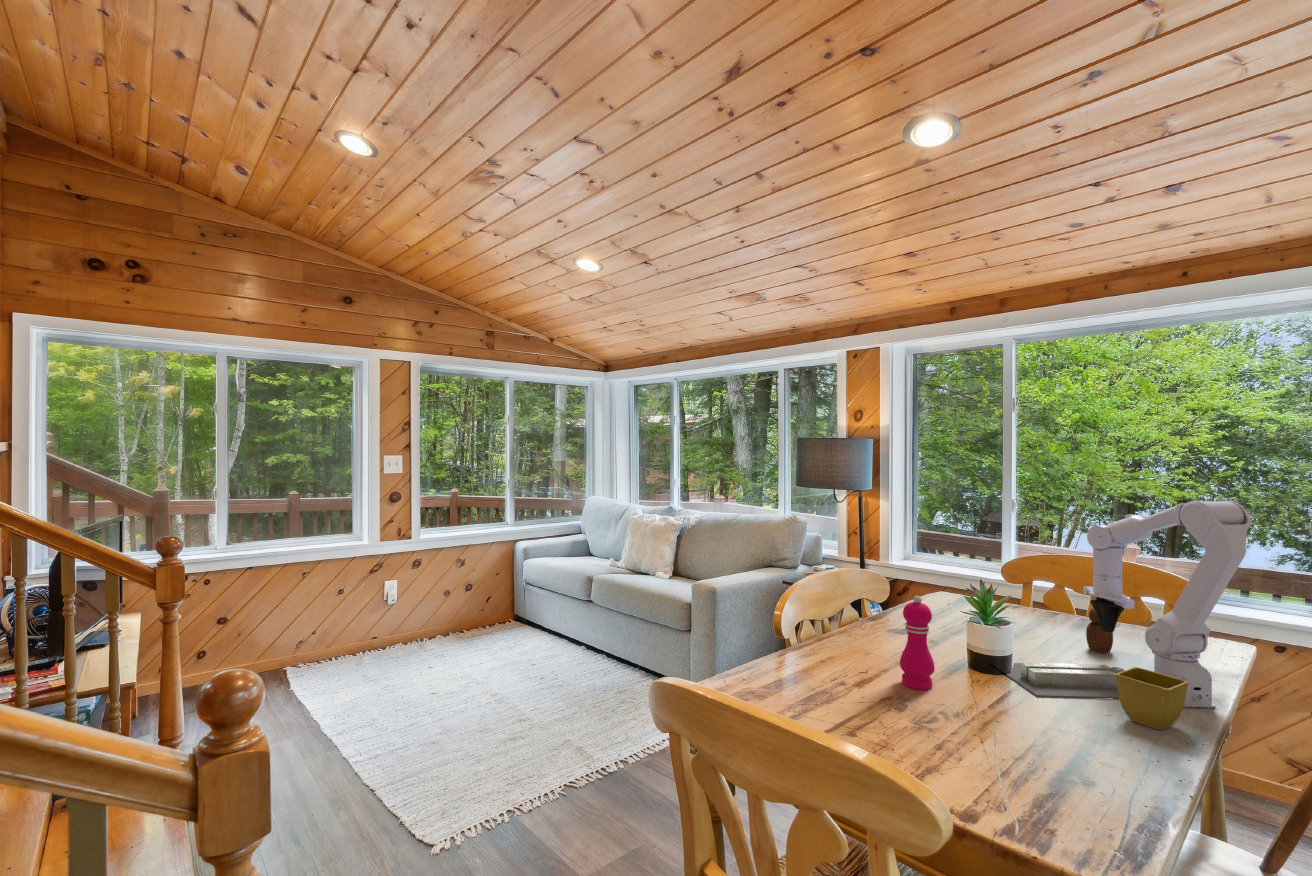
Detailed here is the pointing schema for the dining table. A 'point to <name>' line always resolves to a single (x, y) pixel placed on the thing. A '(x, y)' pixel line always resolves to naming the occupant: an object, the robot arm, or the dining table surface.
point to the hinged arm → (1066, 667)
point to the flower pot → (1151, 697)
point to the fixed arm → (1072, 678)
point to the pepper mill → (917, 647)
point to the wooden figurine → (1098, 635)
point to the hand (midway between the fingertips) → (1107, 631)
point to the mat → (1061, 688)
